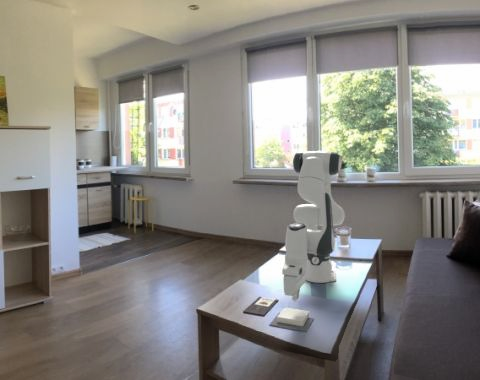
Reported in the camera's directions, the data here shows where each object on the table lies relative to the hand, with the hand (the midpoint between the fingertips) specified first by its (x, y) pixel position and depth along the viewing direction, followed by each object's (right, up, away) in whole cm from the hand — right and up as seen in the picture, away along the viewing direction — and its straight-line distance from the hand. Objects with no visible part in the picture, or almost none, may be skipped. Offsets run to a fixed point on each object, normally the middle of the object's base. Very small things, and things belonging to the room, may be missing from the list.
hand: (295, 299), depth 150 cm
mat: (-2, -8, -4) cm, 9 cm away
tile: (+1, -6, +2) cm, 6 cm away
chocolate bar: (-13, -7, +12) cm, 19 cm away
